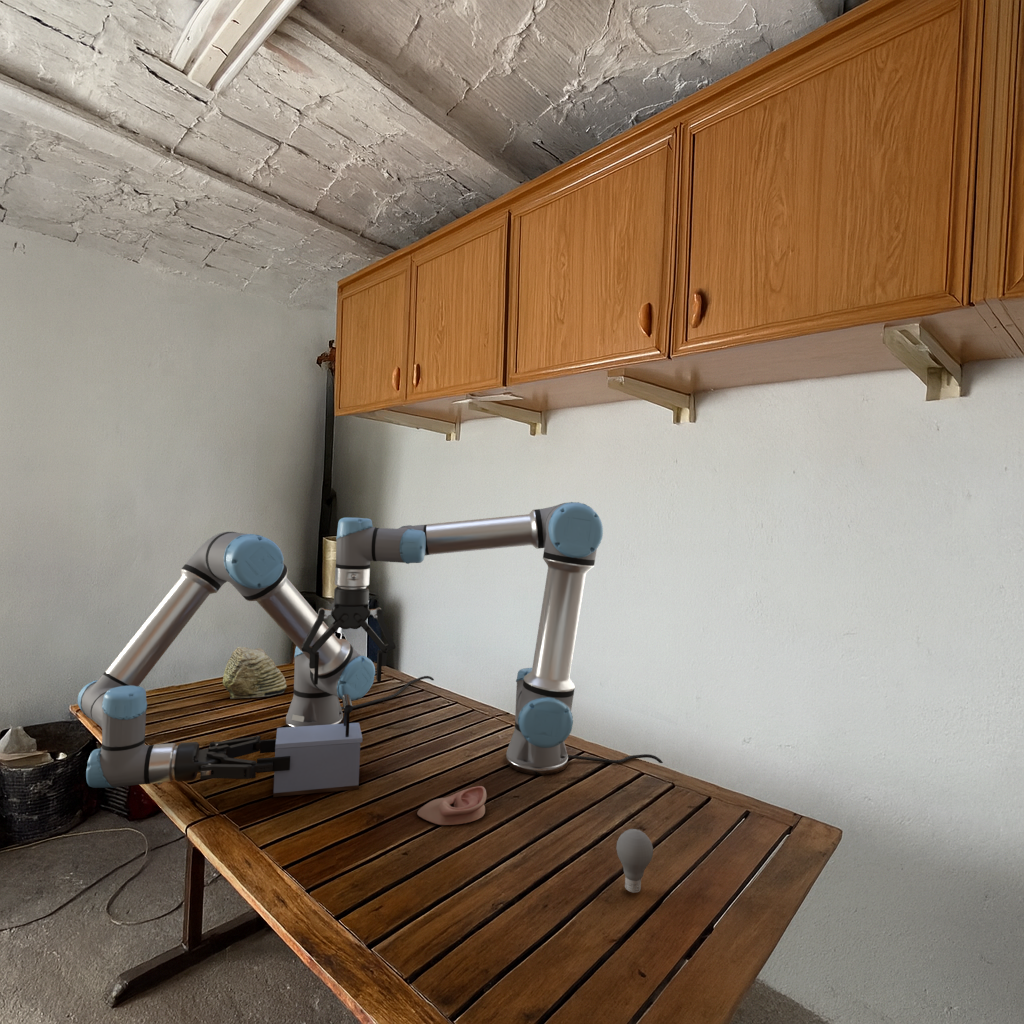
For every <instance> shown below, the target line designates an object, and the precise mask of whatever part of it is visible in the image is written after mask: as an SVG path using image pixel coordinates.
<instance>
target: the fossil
mask: <svg viewBox="0 0 1024 1024" xmlns="http://www.w3.org/2000/svg"><path fill="white" fill-rule="evenodd" d="M222 676H223V677H222V685H223V687H224V688H225V690H226V691H228V693H229V698H230V699H250V698H264V697H271V696H275V695H281V694H284V693H285V691H286V689H287V687H288V686H287V680H286V678H285V676H284V674H283V673H282V672H281V669H279V668H278V667H277V665H276V663H275V662H274V660H273V659H272V658H271V657H270V656H269V655H268V654H267V653H266V652H265V650H264V649H263V648H260V647H258V648H251V647H247V646H246V647H245V646H238V647H237V648H236V649H235V650H233V651H232V653H231V656H230V657H229V659H228V660H227V663H226V666H225V668H224V671H223V675H222Z"/></svg>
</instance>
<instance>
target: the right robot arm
mask: <svg viewBox="0 0 1024 1024" xmlns="http://www.w3.org/2000/svg"><path fill="white" fill-rule="evenodd" d="M336 531H337V532H336V536H335V541H336V542H335V544H336V545H335V568H334V585H335V588H334V589H333V606H332V608H331V609H327V608H324V607H320V608H318V612H317V614H318V618H317V619H316V621H315V623H314V625H313V627H312V628H311V630H310V632H309V634H308V635H307V637H306V639H305V641H304V642H303V644H302V648H301V649H302V651H303V652H307V653H309V654H310V660H309V667H310V669H314V668H315V669H314V685H318V667H319V652H317V651H318V650H319V649H320V648H321V646H322V645H323V644H324V643H325V642H326V641H327V640H328V639H329V638H330V637H331V636H332V634H333V633H334V634H335V632H337V631H338V630H339V629H342V630H349V629H351V630H358V629H361V628H362V629H363V630H364V631H365V632H366V634H367V635H368V636H369V637H370V638H371V639H372V641H373V642H374V643H375V645H377V647H378V648H379V649H377V651H376V653H377V656H376V672H375V678H376V682H377V683H381V682H382V667H386V666H387V664H388V663H387V661H388V652H389V651H391V650H392V651H393V650H395V649H396V647H397V646H396V644H395V641H394V640H393V637H392V635H391V633H390V631H389V629H388V626H387V624H386V623H385V620H384V613H383V609H382V608H381V607H380V606H378V607H376V608H371V609H370V607H369V602H370V600H369V599H370V589H369V588H368V587H369V585H370V578H371V577H370V576H371V575H370V574H371V562H384V563H385V562H386V563H402V564H408V565H409V564H420V563H422V562H424V560H425V557H426V556H433V555H442V554H453V553H463V552H464V553H465V552H476V551H483V550H494V549H495V550H496V549H505V548H506V549H507V548H515V547H526V546H532V547H534V548H535V549H537V550H538V549H543V554H542V559H543V561H544V563H545V564H546V565H547V573H546V579H545V585H544V591H543V597H542V604H541V611H540V617H539V622H538V623H539V624H538V629H537V630H538V631H537V637H536V642H535V649H534V654H533V661H532V667H525V668H521V669H519V670H518V671H517V675H516V679H515V682H516V689H515V691H516V693H515V715H514V731H513V733H512V736H511V738H510V741H509V744H508V747H507V748H506V752H505V762H506V764H507V765H508V767H510V768H512V769H513V770H515V771H518V772H521V773H524V774H528V775H529V774H530V775H538V776H539V775H540V776H541V775H542V776H543V775H553V774H558V773H560V772H563V771H564V770H566V768H567V767H568V766H569V765H568V763H569V759H571V760H572V759H574V760H580V761H581V760H583V761H590V762H599V763H605V764H622V763H625V762H627V761H630V760H633V759H634V760H635V759H643V758H644V759H645V758H647V759H653V760H655V761H657V762H658V763H659V764H663V763H664V762H663V761H662V759H660V758H659V757H658V756H656V755H653V754H650V753H649V754H648V753H646V754H645V753H643V754H633V755H628V756H625V757H624V758H621V759H607V758H600V757H591V756H583V755H573V754H568V751H567V747H566V744H565V741H566V740H567V739H568V737H569V736H570V734H571V732H572V729H573V725H574V719H573V718H574V716H573V712H572V708H573V702H574V695H575V689H576V687H575V683H574V682H573V681H572V679H571V678H570V676H571V670H572V664H573V659H574V658H573V657H574V652H575V647H576V638H577V633H578V627H579V626H578V625H579V619H580V613H581V608H582V607H581V606H582V603H583V595H584V587H585V584H586V583H585V582H586V576H587V573H588V572H589V571H591V569H593V568H595V562H596V557H597V551H598V548H599V547H600V545H601V543H602V540H603V537H604V527H603V523H602V520H601V517H600V516H599V515H598V512H596V510H594V508H592V507H591V506H589V505H587V503H586V504H585V503H584V502H583V503H582V502H579V501H577V502H576V501H570V502H563V503H560V504H557V505H552V506H548V507H545V508H537V509H532V510H531V511H529V513H527V514H518V515H508V516H498V517H496V516H495V517H487V518H478V519H466V520H457V521H448V522H437V523H427V524H417V525H416V524H415V525H410V524H409V525H403V526H400V527H398V528H391V527H390V528H387V527H385V528H384V527H375V526H374V525H373V520H372V519H371V518H366V517H342V518H340V519H339V520H338V523H337V530H336ZM329 616H331V618H333V622H332V623H331V624H330V625H329V626H328V627H329V628H328V629H327V630H326V631H325V632H324V634H323V635H322V636H321V637H320V638H319V639H318V640H317V641H316V642H315V643H314V644H313V646H310V644H311V642H312V640H313V639H314V637H315V635H316V633H317V631H318V630H319V628H320V626H321V624H322V622H323V621H324V620H327V619H328V618H329ZM370 616H372V617H373V619H376V621H377V622H378V625H379V628H380V629H381V630H382V634H383V636H384V637H385V640H386V642H387V643H384V642H383V640H382V639H381V638H380V637H379V636H378V634H377V633H376V632H375V631H374V629H373V628H372V627H371V626H370V625H369V623H368V622H367V619H369V617H370Z"/></svg>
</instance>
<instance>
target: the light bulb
mask: <svg viewBox="0 0 1024 1024" xmlns="http://www.w3.org/2000/svg"><path fill="white" fill-rule="evenodd" d="M615 849H616V854H617V857H618V859H619V861H620V863H621V865H622V867H623V873H624V874H623V875H624V876H625V878H624V888H625V890H627V891H628V892H630V893H634V894H635V893H639V892H640V891H641V889H642V887H641V886H642V879H643V877H644V875H645V871H646V868H647V867H648V866H649V864H650V863H651V861H652V859H653V855H654V847H653V843H652V841H651V838H649V836H648V835H647V834H646V833H645V832H643V831H642V830H641V829H636V828H629V829H627V830H625V831H623V832H622V833H621V834H620V835H619V837H618V839H617V841H616V847H615Z"/></svg>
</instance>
